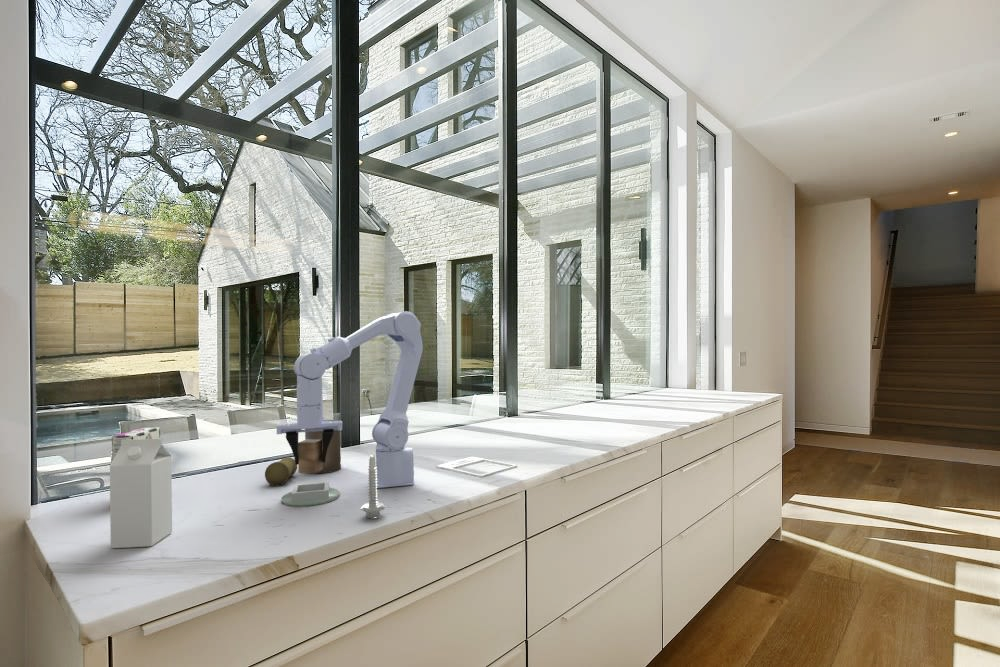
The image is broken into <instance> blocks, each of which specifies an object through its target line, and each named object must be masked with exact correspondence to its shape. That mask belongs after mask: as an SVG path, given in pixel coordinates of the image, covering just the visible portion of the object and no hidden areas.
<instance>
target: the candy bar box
mask: <svg viewBox="0 0 1000 667" xmlns="http://www.w3.org/2000/svg"><path fill="white" fill-rule="evenodd" d="M130 439H161V427H158V426H157V427H155V426H154V427H153V426H152V427H139V428H137V429H133V430H129V431H127V432H126V431H125V432H124V433H120V434H117V435H113V436H111V450H112V451H111V454H112V458H111V459H112V461H113V459H114V457H115V456H116V454H117V452H118V450H119V449H120V447H121V440H130ZM112 461H111V462H112Z"/></svg>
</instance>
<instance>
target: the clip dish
mask: <svg viewBox="0 0 1000 667" xmlns="http://www.w3.org/2000/svg"><path fill="white" fill-rule="evenodd" d="M340 496H341V491H340V490H339V489H337V488H333V487H330V481H321V482H309V483H298V484H294V485H293V487H292V491H290V492H288V493H285V494H283V496H282V497H281V499H280V500H281V501H280V502H281V504H283V505H285V506H289V507H310V506H311V507H312V506H317V505H324V504H326V503H327V504H328V503H331V502H333V501H336V500H337V499H339V498H340Z"/></svg>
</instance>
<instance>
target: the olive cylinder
mask: <svg viewBox="0 0 1000 667" xmlns="http://www.w3.org/2000/svg"><path fill="white" fill-rule="evenodd" d="M297 470H298V465H295V458H294V457H290V456H289V457H288V456H287V457H284V458H282V459H280V460H279V461H276V462H273V463H271V464H268V466H267V467H266V469H265V472H264V477H265V480H266V482H267V483H268V484H269V485H271V486H273V487H274V486H275V487H277V486H276V485H280V486H281V485H284V484H285V483H286V482H287V481H288V480H289V478H290V477H292V476H293V475H294V474H295V473H297Z"/></svg>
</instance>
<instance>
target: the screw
mask: <svg viewBox="0 0 1000 667" xmlns="http://www.w3.org/2000/svg"><path fill="white" fill-rule="evenodd" d="M368 462H369V463H368V466H367V467H368V469H367V470H368V472H367V473H368V480H367V482H368V483H367V485H368V486H367V487H368V492H367V493H368V502H366V503H365V504H362V506H361V507H360V511H362V512H365V518H367V517H368V519H369V518H373V519H375V518H374V517H378V516H379V517H380V516H381V511H382V510H384V509H385V508H386V505H385V504H384V503H383V502H380V501H378V488H377V486H376V485H377V484H376V483H377V481H376V480H377V478H376V477H377V475H376V474H377V472H376V471H377V470H376V468H377V467H376V455H374V454H370V456H369V459H368ZM379 517H378V518H379Z"/></svg>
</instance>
